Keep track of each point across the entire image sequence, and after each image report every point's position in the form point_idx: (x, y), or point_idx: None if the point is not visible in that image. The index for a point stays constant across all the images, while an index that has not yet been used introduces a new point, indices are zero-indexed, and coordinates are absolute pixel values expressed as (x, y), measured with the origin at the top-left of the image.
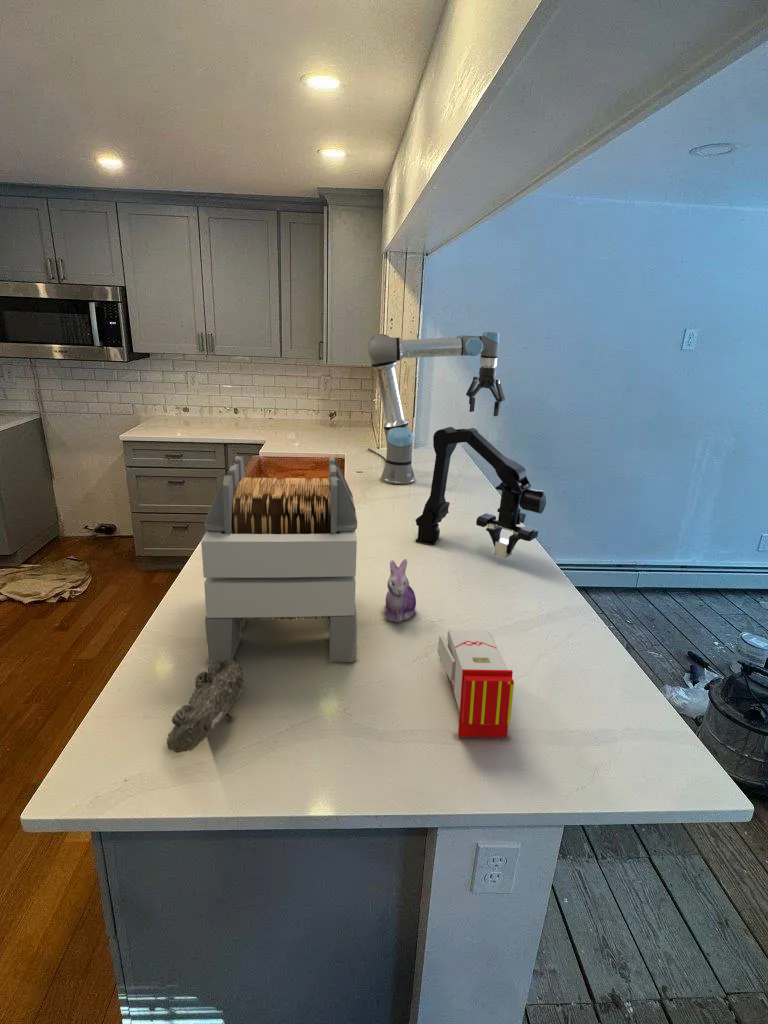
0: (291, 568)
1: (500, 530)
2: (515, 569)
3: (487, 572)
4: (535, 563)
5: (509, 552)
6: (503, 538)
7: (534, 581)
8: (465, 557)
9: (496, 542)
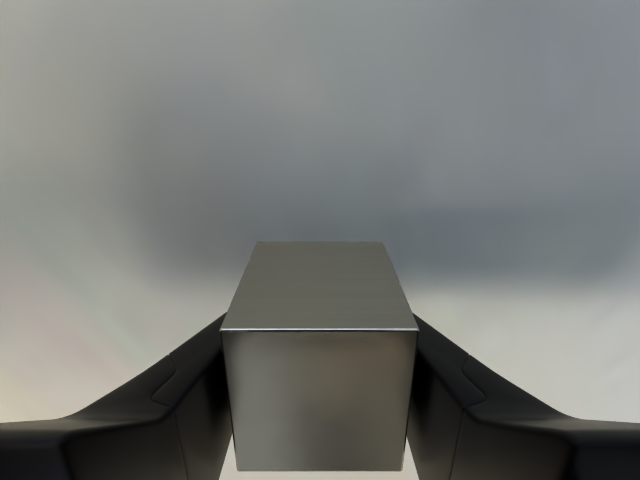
0: None
1: (135, 458)
2: (451, 292)
3: None
4: (565, 65)
5: None
6: (254, 341)
7: (617, 361)
8: (94, 352)
9: (253, 458)
